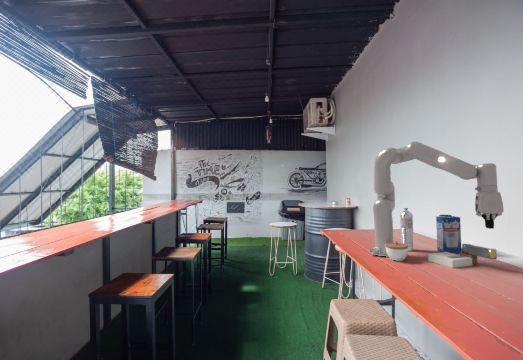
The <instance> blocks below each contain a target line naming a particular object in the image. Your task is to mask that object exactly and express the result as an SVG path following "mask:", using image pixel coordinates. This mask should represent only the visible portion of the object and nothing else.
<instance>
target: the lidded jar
mask: <svg viewBox="0 0 523 360" xmlns="http://www.w3.org/2000/svg"><path fill="white" fill-rule="evenodd" d="M408 252H409V251H408V245H406V244H401V242H398V241H395V242H393V243H387V244H386V253H387V255H388V257H387V258H389V259H390V260H391V259H392V260H391V261H393V260H396V261H395V262H403V261H404V260H405V259H406V258H407V257H408Z"/></svg>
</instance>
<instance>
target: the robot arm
mask: <svg viewBox="0 0 523 360" xmlns="http://www.w3.org/2000/svg"><path fill="white" fill-rule="evenodd" d="M374 160H375V161H374V167H373V168H374V169H373V170H374V173H373V174H374V177H373V180H374V183H373V186H374V187H373V188H374V189H373V190H374V193H376V195H377V200H375V202H374V203H373V205H372V211H373V221H374V222H373V223H374V246H373V247H372V248H368V249H367V252H368V253H372V255H373V254H374V255H373V256H375V255H378V256H377V257H380V256H386V257H385V258H389V257H388V255H387V253H386V244H387V243H394V224H393V223H394V221H393V211H394V210H395V206H396V205H395V204H396V203H395V202H396V197H395V195H396V193H395V185H394V184H395V183H394V182H393V181H391V180H392V179H391V175H392V174H391V165H392V164H393V165H397V164H402V163H405V162H409V161H413V160H417V161H419V162H422V163H424V164H426V165H428V166H430V167H433V168H435V169H439V170H442V171H444V172H448V173H449V174H452V175H453V176H456V177H457V178H460V179H463V180H465V181H466V180H467V181H468V180H474V179H476V181H477V182H476V184H477V185H476V187H475V188H474V190H475V191H477V192H476V194H475V198H474V199H475V201H474V210H475V212H476V214H475V215H476V216H477V217H481V218H482V220H484V225H485V228H486V229H494V228H495V220H496V219H497V217H499V216H502V215H503V213H504V202H503V196H502V195H501V191H499V190H498V177H497V176H498V175H497V165H496V164H495V163H493V162H492V163H490V162H489V163H487V162H486V163H478V164H471V163H469V162H467V161H464V160H461V159H460V158H457V157H454V156H452V155H450V154H448V153H445V152H443V151H440V150H439V149H436V148H434V147H431V146H429V145H426V144H424V143H421V142H418V141H411V142H410V143H408V144H407V145H406V146H402V147H398V148H394V147H388V148H384V149H383V150H381V151H380V152H379V153H378V154H377V156H376V158H375V159H374Z"/></svg>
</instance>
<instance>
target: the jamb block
mask: <svg viewBox="0 0 523 360" xmlns="http://www.w3.org/2000/svg"><path fill="white" fill-rule="evenodd" d="M458 255H462V256H466V257H470V258H472V266H473V265H478V256H476V255H472V254H466V253H463V252H462V251H461V252H460V253H458Z"/></svg>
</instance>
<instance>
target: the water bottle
mask: <svg viewBox="0 0 523 360" xmlns="http://www.w3.org/2000/svg"><path fill="white" fill-rule="evenodd" d="M413 216H414V215H413V214H412V212H411V211H409V209H408V207H404V210H403V211H401V213H400V214H399V219H400V221H399V222H400V224H399V225H400V228H399V231H400V243H401V244H406V245H408V252H413V251H414V250H415V248H414V247H415V246H414V245H415V243H414V242H415V241H414V226H413V225H414V224H413V223H414V222H413V221H414V219H413V218H414V217H413Z"/></svg>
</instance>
